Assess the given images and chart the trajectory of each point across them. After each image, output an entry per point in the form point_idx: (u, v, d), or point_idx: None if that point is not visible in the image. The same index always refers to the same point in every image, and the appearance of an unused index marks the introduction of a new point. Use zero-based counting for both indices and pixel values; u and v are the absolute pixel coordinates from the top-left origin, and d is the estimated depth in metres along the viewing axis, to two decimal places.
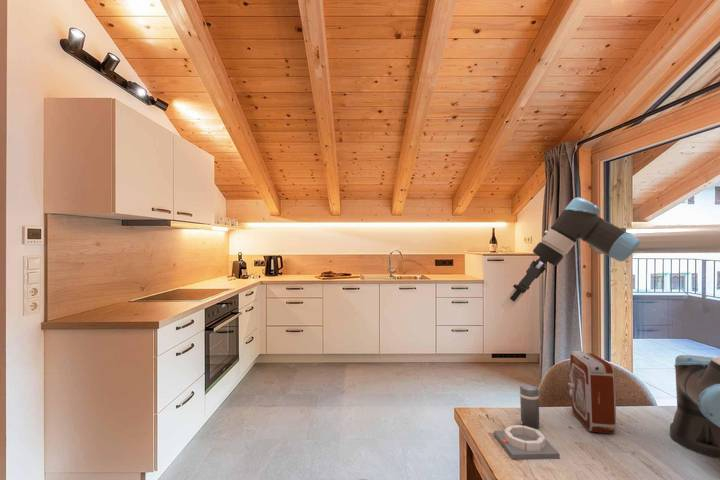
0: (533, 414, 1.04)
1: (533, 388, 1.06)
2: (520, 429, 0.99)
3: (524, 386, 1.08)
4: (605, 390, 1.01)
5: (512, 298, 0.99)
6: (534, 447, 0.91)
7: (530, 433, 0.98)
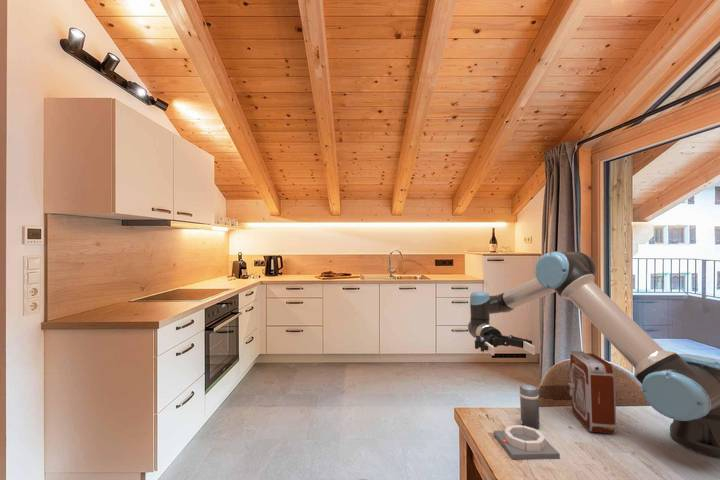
0: (533, 414, 1.04)
1: (533, 388, 1.06)
2: (520, 429, 0.99)
3: (524, 386, 1.08)
4: (605, 390, 1.01)
5: (484, 348, 1.21)
6: (534, 447, 0.91)
7: (530, 433, 0.98)
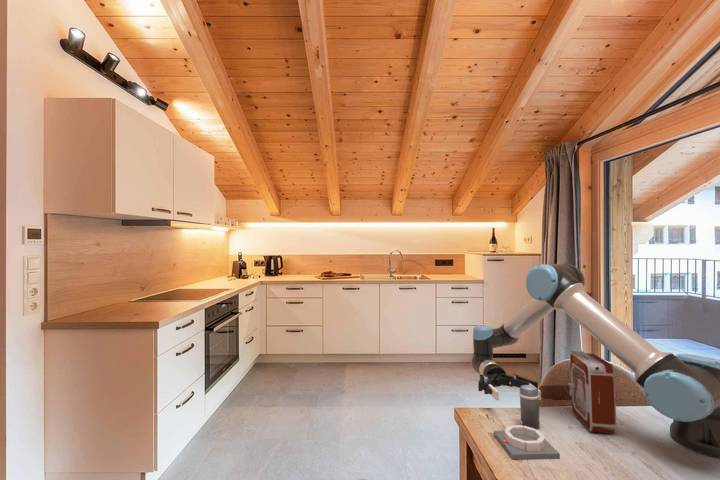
0: (533, 414, 1.04)
1: (533, 388, 1.06)
2: (520, 429, 0.99)
3: (524, 386, 1.08)
4: (605, 390, 1.01)
5: (488, 391, 1.17)
6: (534, 447, 0.91)
7: (530, 433, 0.98)
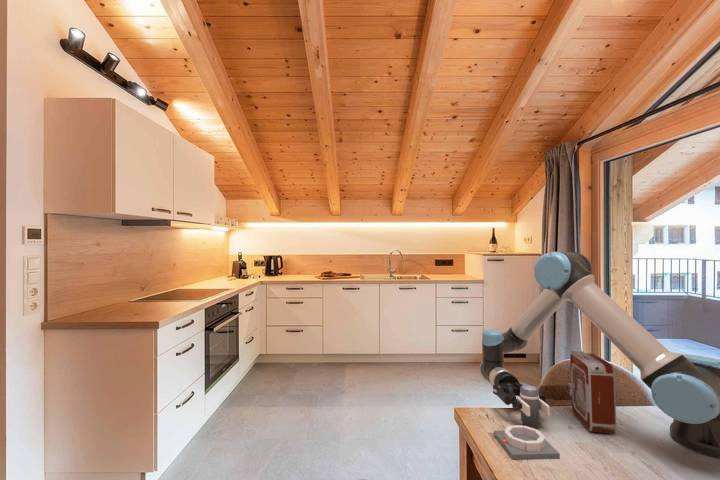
0: (533, 414, 1.04)
1: (533, 388, 1.06)
2: (520, 429, 0.99)
3: (524, 386, 1.07)
4: (605, 390, 1.01)
5: (517, 406, 1.05)
6: (534, 447, 0.91)
7: (530, 433, 0.98)
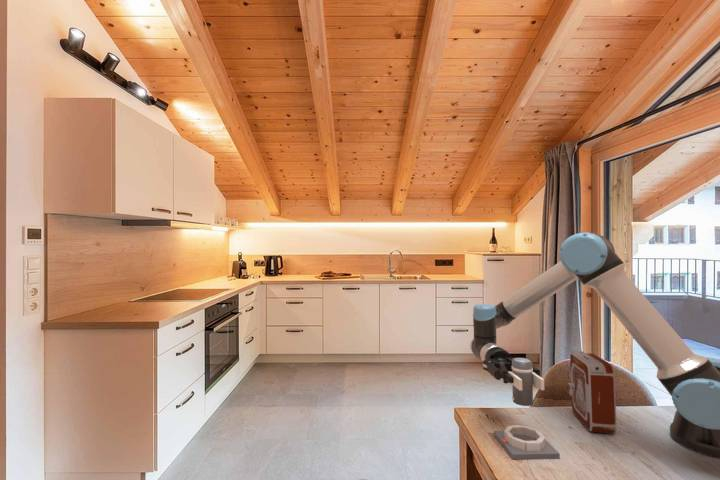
0: (526, 389, 0.94)
1: (526, 360, 0.96)
2: (520, 429, 0.99)
3: (516, 359, 0.97)
4: (605, 390, 1.01)
5: (508, 380, 0.95)
6: (534, 447, 0.91)
7: (530, 433, 0.98)
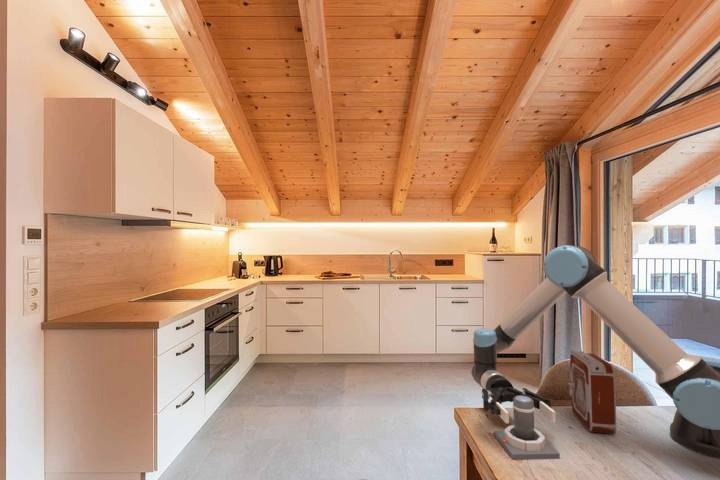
0: (528, 429, 0.93)
1: (528, 399, 0.95)
2: None
3: (518, 397, 0.97)
4: (605, 390, 1.01)
5: (495, 411, 0.96)
6: (534, 447, 0.91)
7: None
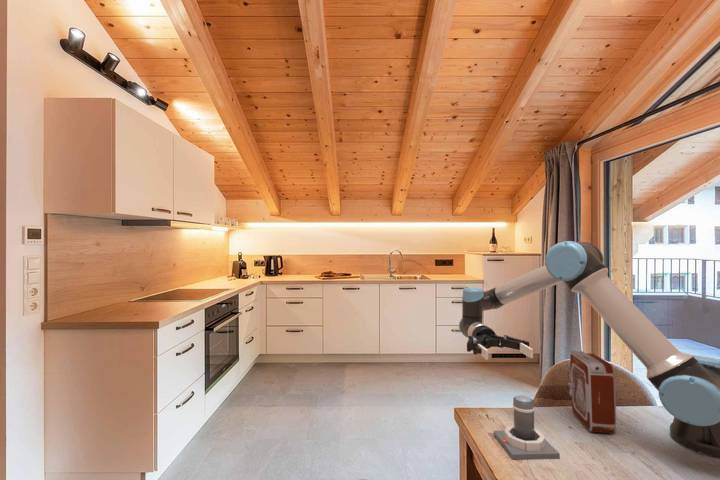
0: (528, 429, 0.93)
1: (528, 399, 0.95)
2: None
3: (518, 397, 0.97)
4: (605, 390, 1.01)
5: (477, 351, 1.09)
6: (534, 447, 0.91)
7: None
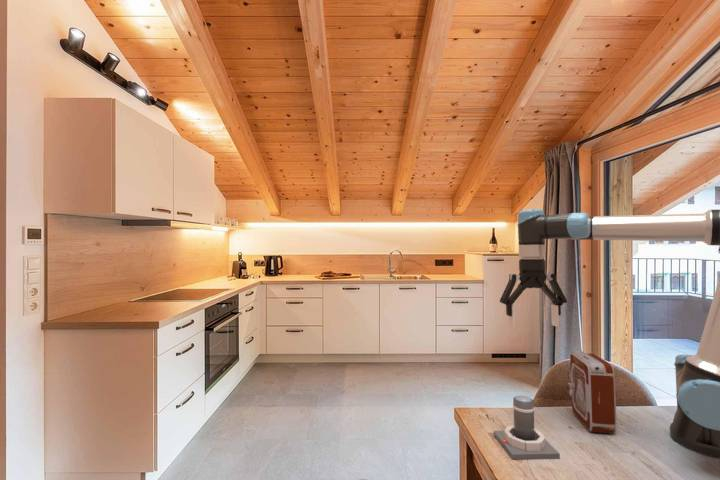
0: (528, 429, 0.93)
1: (528, 399, 0.95)
2: None
3: (518, 397, 0.97)
4: (605, 390, 1.01)
5: (507, 313, 1.12)
6: (534, 447, 0.91)
7: None
